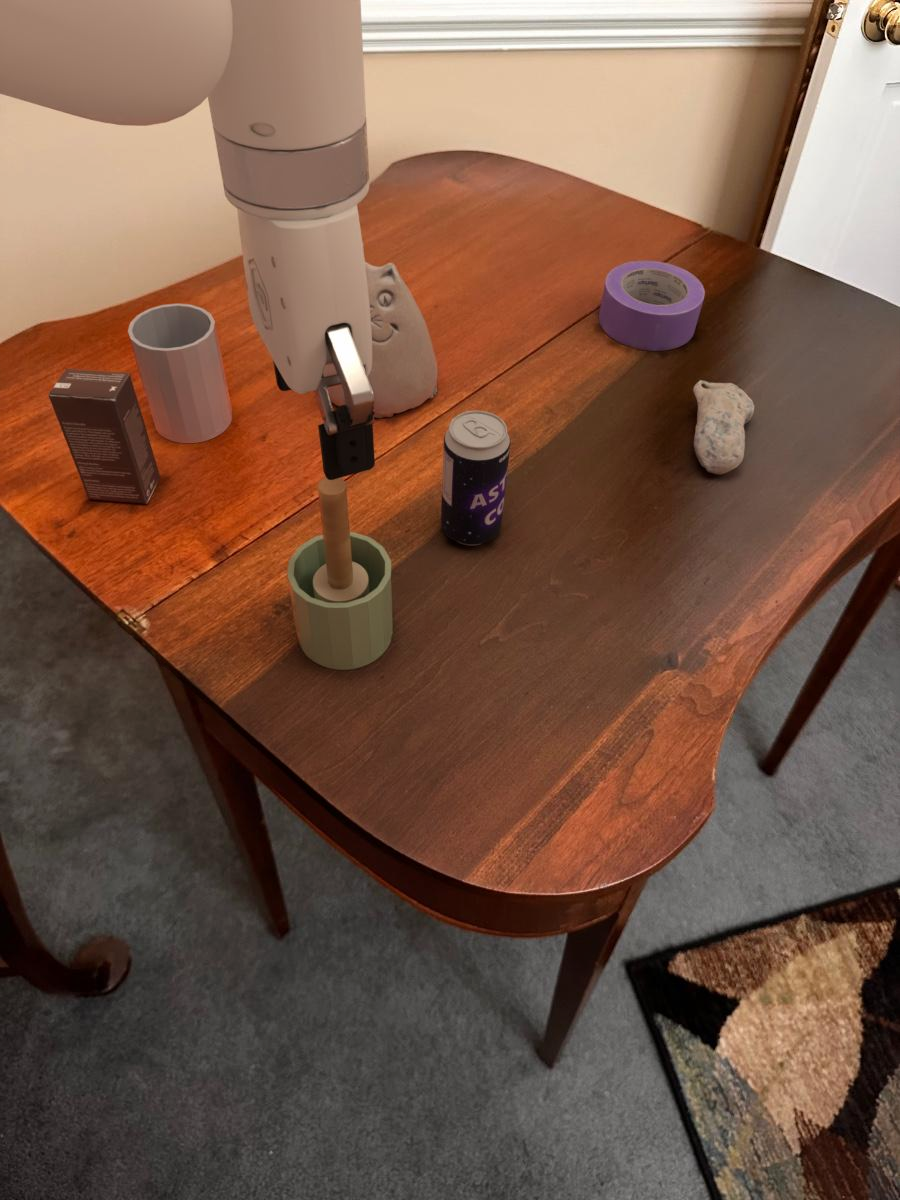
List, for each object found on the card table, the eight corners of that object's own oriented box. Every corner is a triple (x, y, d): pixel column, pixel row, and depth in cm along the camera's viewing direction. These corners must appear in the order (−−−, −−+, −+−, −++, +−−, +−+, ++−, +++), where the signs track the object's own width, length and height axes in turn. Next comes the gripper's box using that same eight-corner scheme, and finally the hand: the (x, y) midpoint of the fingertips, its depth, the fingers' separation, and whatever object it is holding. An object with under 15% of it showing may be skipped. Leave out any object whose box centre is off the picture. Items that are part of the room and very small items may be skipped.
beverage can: (467, 560, 79) (474, 459, 70) (428, 525, 82) (430, 424, 73) (512, 533, 82) (525, 432, 73) (473, 500, 85) (481, 399, 75)
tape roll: (697, 355, 102) (708, 317, 98) (598, 346, 103) (605, 308, 99) (691, 302, 110) (701, 264, 106) (598, 293, 110) (605, 256, 106)
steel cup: (163, 451, 88) (137, 358, 79) (147, 405, 93) (120, 312, 84) (241, 432, 90) (223, 340, 82) (221, 388, 95) (202, 296, 86)
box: (162, 474, 86) (131, 371, 76) (147, 506, 83) (114, 402, 73) (102, 469, 86) (64, 365, 77) (85, 500, 83) (44, 396, 74)
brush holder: (315, 682, 70) (306, 620, 64) (285, 612, 75) (274, 547, 69) (407, 651, 72) (406, 588, 66) (372, 585, 77) (369, 520, 71)
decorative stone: (755, 486, 87) (771, 447, 83) (688, 478, 88) (701, 438, 84) (746, 406, 96) (760, 367, 92) (685, 399, 96) (697, 360, 92)
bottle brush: (328, 654, 71) (311, 513, 59) (311, 616, 74) (292, 473, 62) (379, 638, 72) (372, 496, 60) (360, 601, 75) (350, 458, 63)
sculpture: (335, 430, 91) (324, 300, 79) (308, 367, 98) (294, 239, 86) (451, 407, 94) (456, 279, 83) (416, 347, 101) (416, 221, 90)
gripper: (181, 105, 48) (233, 367, 61) (272, 252, 38) (311, 528, 51) (310, 86, 50) (334, 344, 63) (429, 221, 40) (428, 494, 53)
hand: (324, 426), depth 57 cm, fingers open, 9 cm apart
